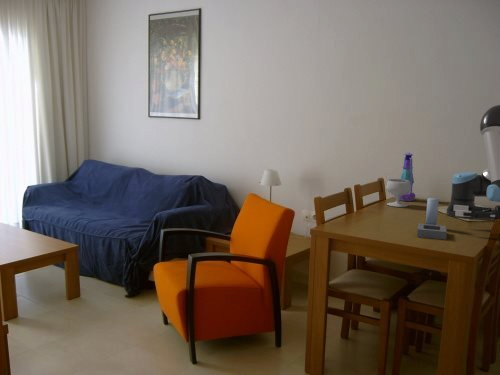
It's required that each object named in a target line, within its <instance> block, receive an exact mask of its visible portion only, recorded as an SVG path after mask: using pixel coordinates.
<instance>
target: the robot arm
mask: <svg viewBox="0 0 500 375" xmlns="http://www.w3.org/2000/svg"><path fill="white" fill-rule="evenodd" d="M479 130H480V135H481V136H483V140H484V147H485V153H486V159H487V168H485V169H484V170H483V171H482V173H481V174H478V173H477V172H475V171H464V172H463V171H462V172H461V171H460V172H457V173H456V172H455V174H453V176H452V181H451V196H450V202H449V203H448V206H447V208H446V212H445V214H446V215H447V216H450V217H453V218H459V217H472V218H471V219H491V220H494V221H495V220H497V219H500V204H499V205H497V204H496V205H495V206H494V209H493V208H491V207H486V206H485V207H484V206H478V205H476V204H475V203H476V202H475V198H476V197H477V198H479V197H480V198H482V197H483V198H487V199H488V200H489V201H490V202H498V203H500V104H497V105H493V106H492V107H490V108H488V109H487V110H486V111H485V112H484V114H483V115H482V117H481V120H480V124H479Z"/></svg>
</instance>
